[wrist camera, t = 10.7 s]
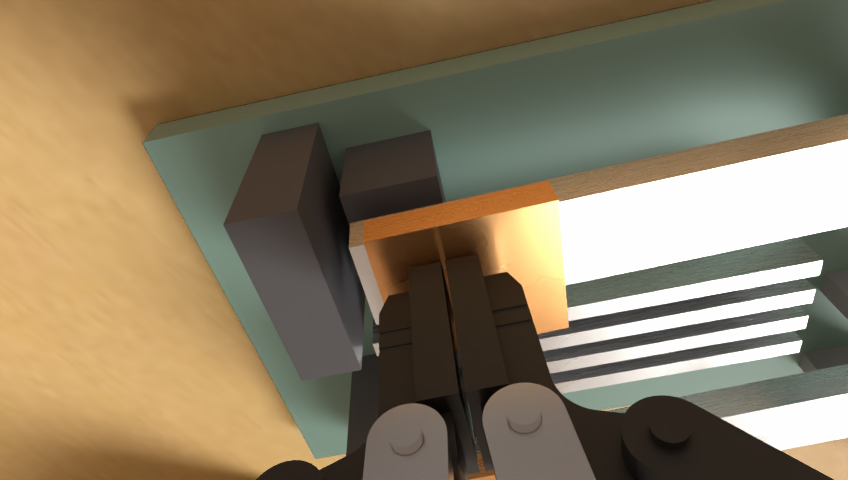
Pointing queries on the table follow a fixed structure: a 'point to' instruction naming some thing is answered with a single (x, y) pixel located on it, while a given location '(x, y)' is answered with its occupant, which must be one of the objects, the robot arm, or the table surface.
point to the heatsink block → (681, 316)
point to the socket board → (487, 177)
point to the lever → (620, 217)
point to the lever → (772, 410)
